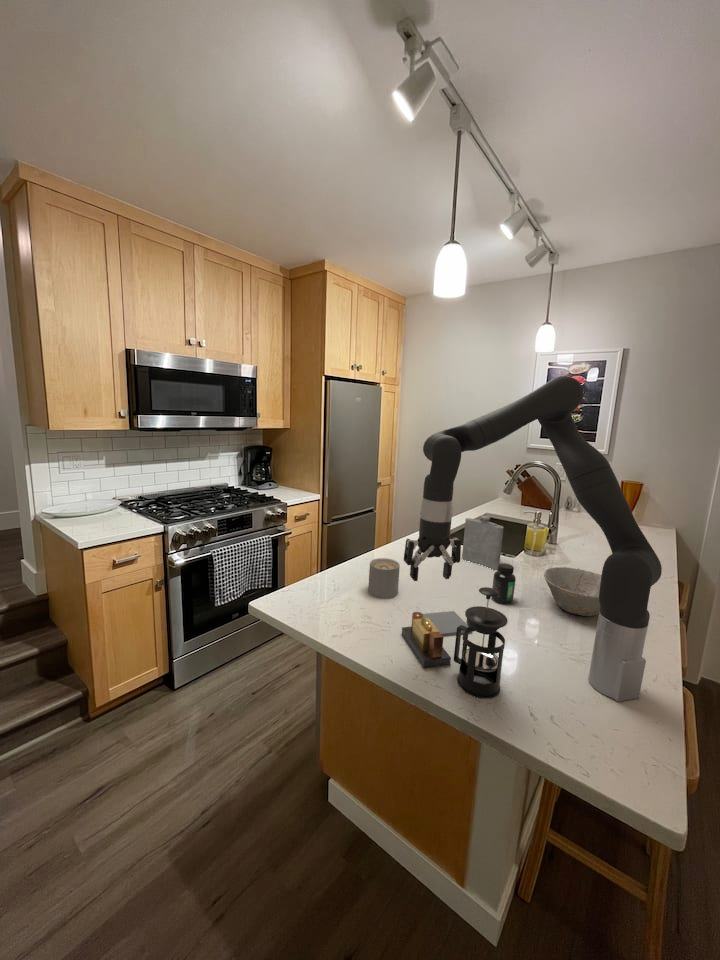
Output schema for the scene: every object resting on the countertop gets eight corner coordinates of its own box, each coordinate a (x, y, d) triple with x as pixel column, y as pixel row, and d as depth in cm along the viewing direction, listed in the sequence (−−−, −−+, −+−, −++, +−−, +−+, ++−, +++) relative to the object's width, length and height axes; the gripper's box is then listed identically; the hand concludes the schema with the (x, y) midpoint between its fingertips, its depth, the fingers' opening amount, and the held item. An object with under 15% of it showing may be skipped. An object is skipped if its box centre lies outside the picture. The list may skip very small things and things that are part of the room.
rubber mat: (472, 633, 114) (472, 630, 114) (436, 636, 111) (436, 634, 111) (453, 613, 124) (454, 611, 124) (420, 616, 121) (420, 614, 121)
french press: (510, 687, 92) (522, 592, 88) (489, 707, 86) (502, 606, 81) (464, 662, 100) (474, 575, 96) (442, 679, 94) (451, 585, 90)
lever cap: (438, 648, 102) (440, 628, 101) (422, 650, 101) (424, 629, 100) (427, 633, 109) (428, 614, 108) (412, 634, 108) (413, 615, 107)
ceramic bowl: (604, 599, 139) (609, 572, 137) (629, 635, 117) (634, 602, 115) (535, 589, 145) (538, 562, 143) (545, 620, 123) (550, 589, 121)
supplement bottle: (514, 606, 131) (518, 571, 129) (492, 603, 132) (496, 568, 130) (511, 596, 138) (515, 563, 135) (490, 594, 139) (493, 560, 137)
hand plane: (450, 664, 99) (452, 636, 98) (423, 668, 97) (426, 639, 96) (425, 631, 113) (427, 606, 112) (401, 634, 112) (403, 608, 110)
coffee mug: (383, 601, 130) (385, 572, 128) (362, 590, 137) (363, 562, 135) (410, 590, 139) (412, 562, 137) (389, 580, 146) (390, 553, 144)
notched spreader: (460, 559, 170) (464, 513, 166) (465, 557, 173) (469, 511, 169) (496, 571, 159) (502, 522, 156) (501, 568, 162) (506, 520, 158)
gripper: (414, 521, 94) (409, 587, 97) (469, 520, 97) (463, 583, 100) (403, 513, 101) (398, 574, 104) (455, 512, 104) (449, 571, 107)
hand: (430, 578), depth 102 cm, fingers open, 8 cm apart
